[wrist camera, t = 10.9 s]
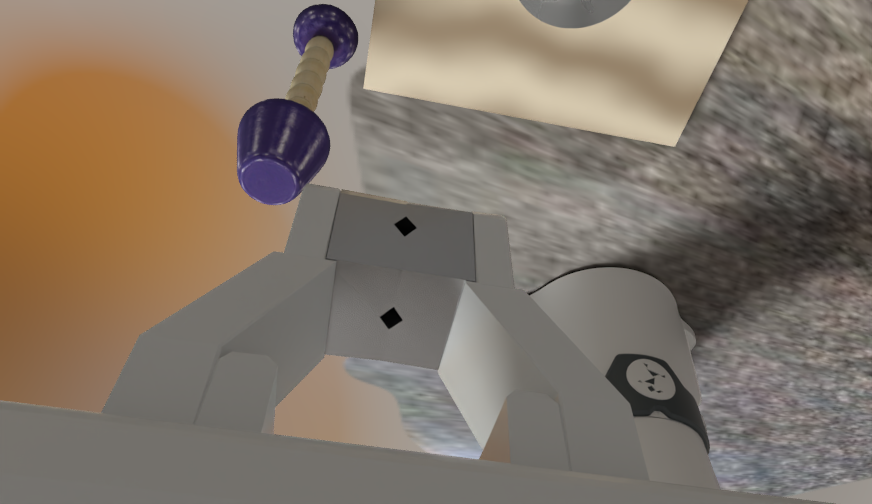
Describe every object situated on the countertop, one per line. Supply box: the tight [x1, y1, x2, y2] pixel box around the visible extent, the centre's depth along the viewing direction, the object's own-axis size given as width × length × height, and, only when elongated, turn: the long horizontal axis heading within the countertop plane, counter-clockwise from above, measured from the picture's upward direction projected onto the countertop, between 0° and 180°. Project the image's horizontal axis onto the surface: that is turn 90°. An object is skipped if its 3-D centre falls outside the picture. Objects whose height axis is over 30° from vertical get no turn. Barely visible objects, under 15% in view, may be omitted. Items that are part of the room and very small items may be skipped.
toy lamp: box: [237, 4, 358, 205], centre depth 37 cm, size 5×5×17 cm
